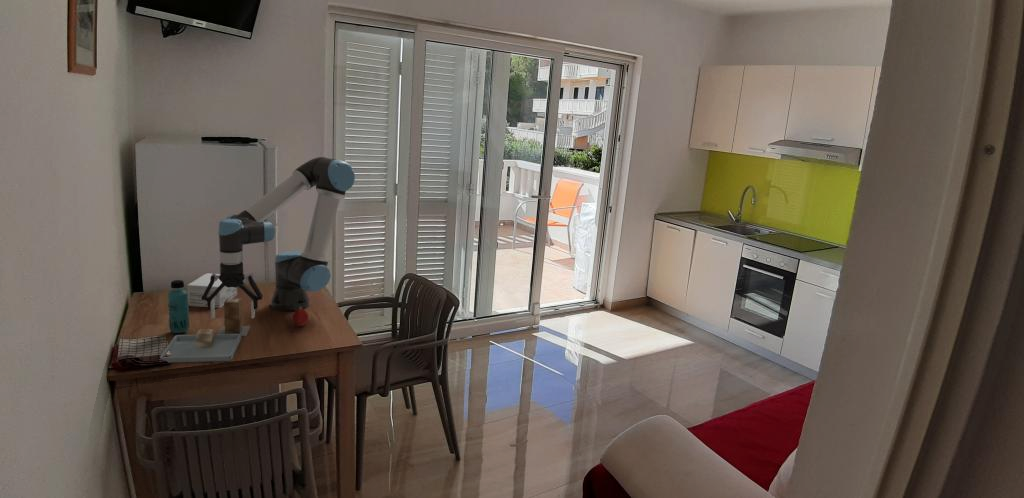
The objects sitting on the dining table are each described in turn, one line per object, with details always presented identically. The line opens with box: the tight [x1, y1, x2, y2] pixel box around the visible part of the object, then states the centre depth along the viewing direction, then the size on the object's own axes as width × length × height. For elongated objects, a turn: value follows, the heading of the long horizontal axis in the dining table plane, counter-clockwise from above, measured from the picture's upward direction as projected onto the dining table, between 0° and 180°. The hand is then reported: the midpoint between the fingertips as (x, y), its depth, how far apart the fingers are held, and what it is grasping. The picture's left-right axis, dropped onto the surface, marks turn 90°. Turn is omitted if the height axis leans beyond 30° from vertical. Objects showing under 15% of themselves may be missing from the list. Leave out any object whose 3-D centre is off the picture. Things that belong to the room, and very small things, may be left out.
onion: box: [292, 307, 309, 328], centre depth 230 cm, size 6×6×8 cm
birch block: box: [195, 328, 215, 348], centre depth 206 cm, size 4×4×5 cm
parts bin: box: [159, 333, 242, 364], centre depth 203 cm, size 21×19×2 cm
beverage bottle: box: [167, 279, 190, 334], centre depth 213 cm, size 6×7×20 cm
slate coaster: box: [217, 325, 251, 338], centre depth 220 cm, size 10×10×1 cm
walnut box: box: [223, 297, 243, 334], centre depth 219 cm, size 5×5×12 cm
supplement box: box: [186, 272, 238, 309], centre depth 250 cm, size 17×13×9 cm
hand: (233, 317), depth 219 cm, fingers open, 13 cm apart
